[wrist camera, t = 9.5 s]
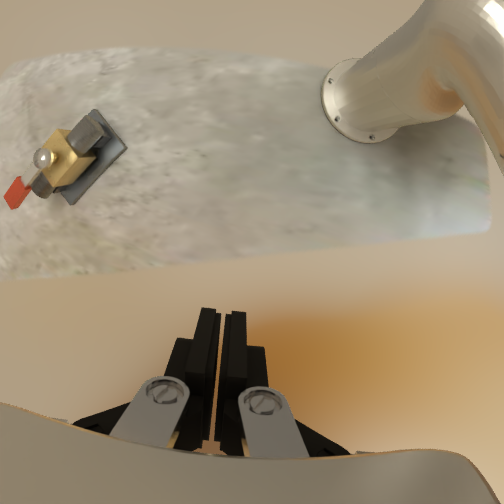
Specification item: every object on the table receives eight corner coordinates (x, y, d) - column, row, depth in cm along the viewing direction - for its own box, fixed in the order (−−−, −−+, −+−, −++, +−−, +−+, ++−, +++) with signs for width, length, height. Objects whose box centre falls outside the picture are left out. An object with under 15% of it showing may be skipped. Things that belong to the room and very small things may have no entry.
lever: (48, 144, 29) (41, 143, 28) (57, 158, 30) (50, 158, 28) (10, 194, 31) (3, 196, 29) (18, 208, 31) (11, 210, 30)
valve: (97, 109, 37) (62, 99, 28) (127, 148, 39) (97, 145, 30) (46, 166, 39) (8, 170, 30) (74, 204, 41) (37, 215, 32)
